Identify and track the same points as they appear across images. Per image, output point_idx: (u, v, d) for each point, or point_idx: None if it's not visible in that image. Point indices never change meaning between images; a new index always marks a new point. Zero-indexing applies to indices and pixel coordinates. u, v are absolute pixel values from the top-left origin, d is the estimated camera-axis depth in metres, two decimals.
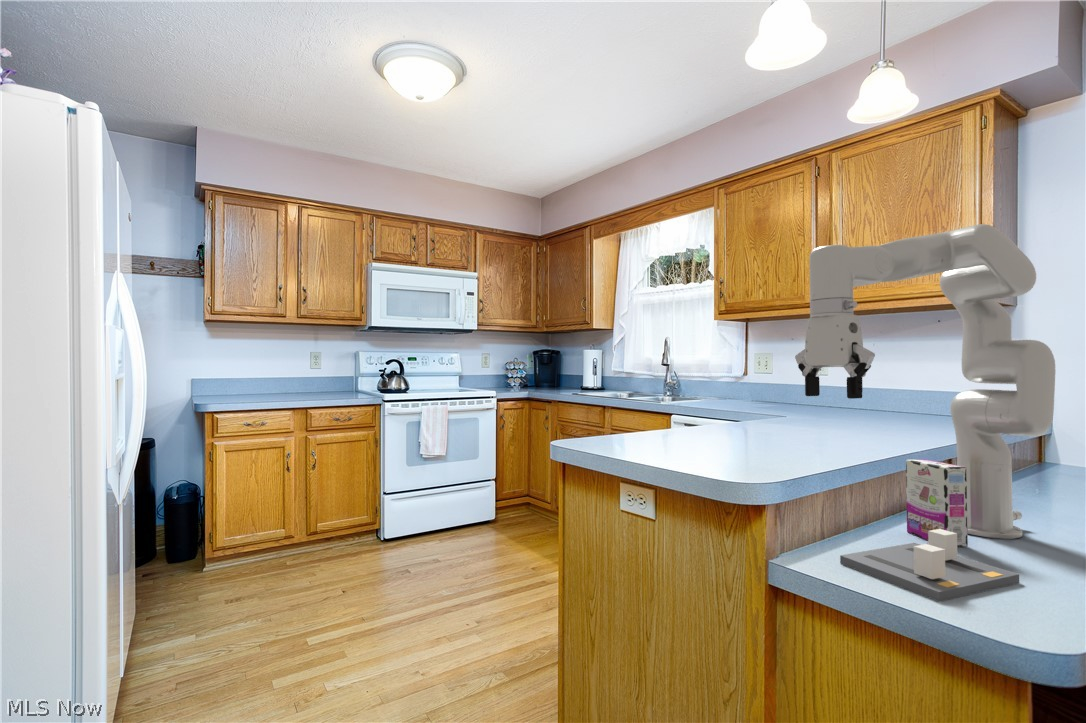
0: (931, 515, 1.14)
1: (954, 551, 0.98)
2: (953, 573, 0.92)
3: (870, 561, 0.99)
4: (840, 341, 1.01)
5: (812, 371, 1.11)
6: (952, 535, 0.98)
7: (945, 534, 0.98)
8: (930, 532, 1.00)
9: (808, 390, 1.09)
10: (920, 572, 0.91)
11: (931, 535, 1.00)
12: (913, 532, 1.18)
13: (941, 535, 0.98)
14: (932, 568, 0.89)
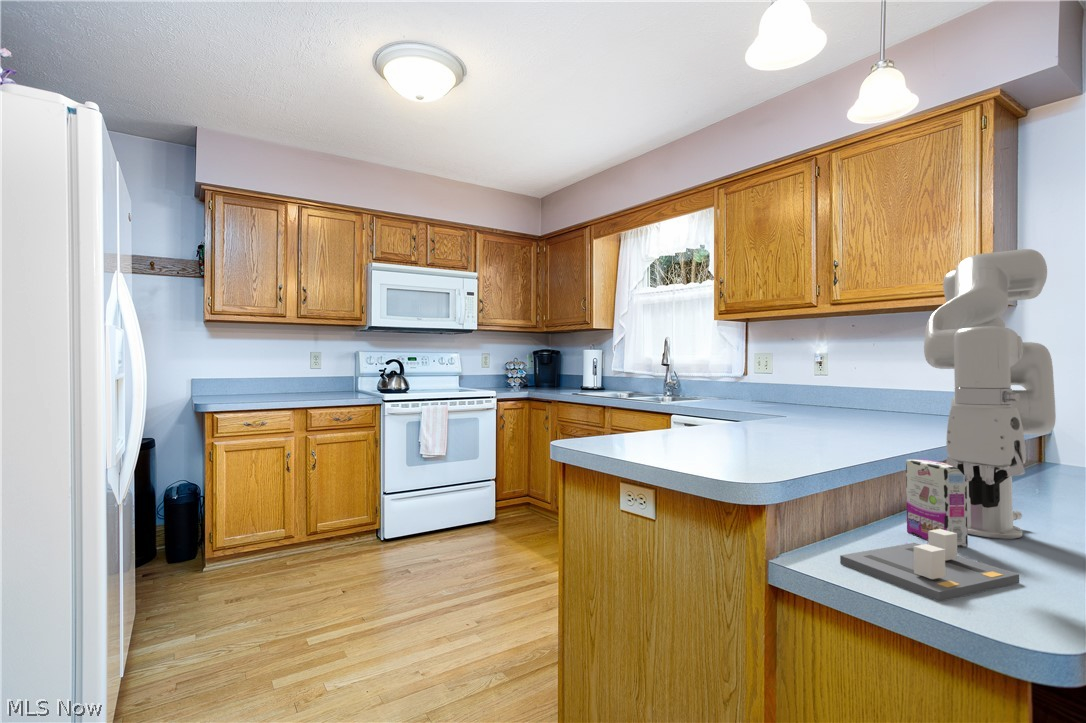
0: (931, 515, 1.14)
1: (954, 551, 0.98)
2: (953, 573, 0.92)
3: (870, 561, 0.99)
4: (1000, 439, 0.89)
5: None
6: (952, 535, 0.98)
7: (945, 534, 0.98)
8: (930, 532, 1.00)
9: (974, 498, 0.93)
10: (920, 572, 0.91)
11: (931, 535, 1.00)
12: (913, 532, 1.18)
13: (941, 535, 0.98)
14: (932, 568, 0.89)
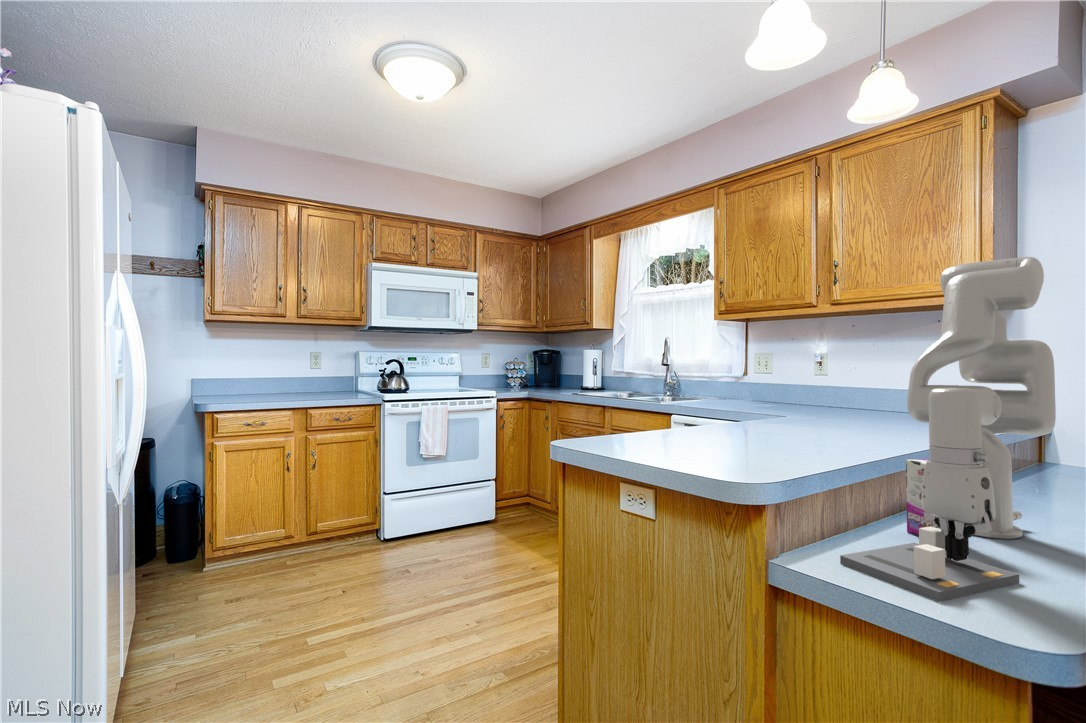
0: None
1: (944, 548, 1.00)
2: (953, 573, 0.92)
3: (870, 561, 0.99)
4: (971, 498, 0.93)
5: None
6: None
7: (935, 531, 0.99)
8: (921, 529, 1.01)
9: (950, 552, 0.97)
10: (920, 572, 0.91)
11: (922, 532, 1.01)
12: (913, 532, 1.18)
13: (931, 532, 0.99)
14: (932, 568, 0.89)
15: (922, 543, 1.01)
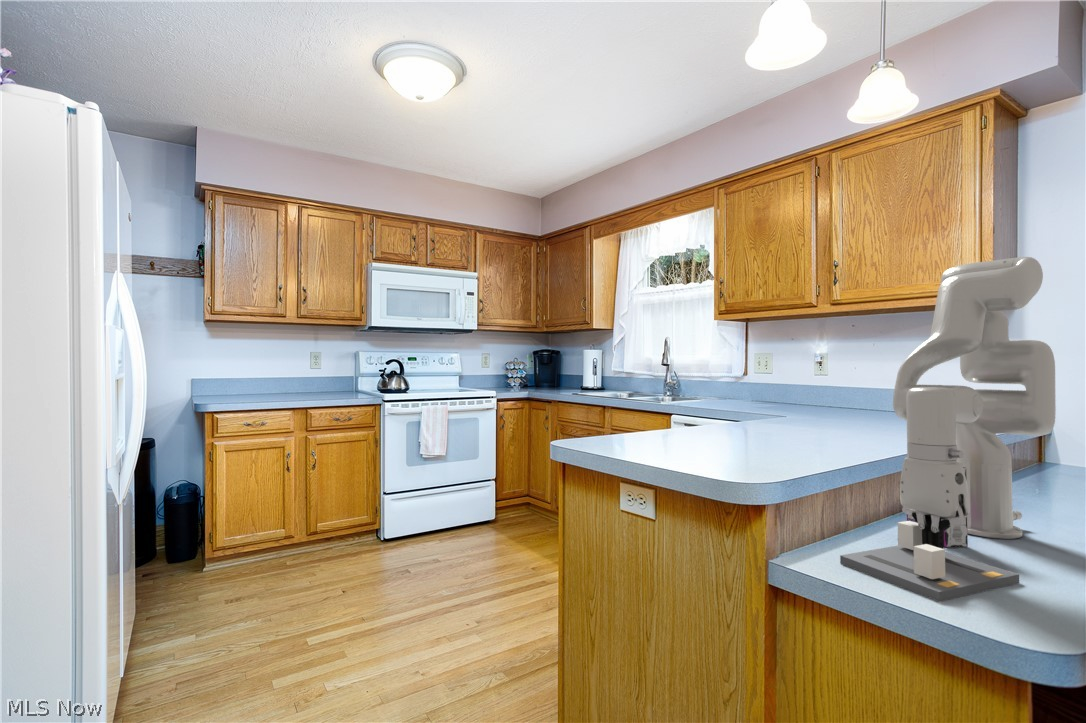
0: None
1: (921, 541, 1.04)
2: (953, 573, 0.92)
3: (870, 561, 0.99)
4: (946, 492, 0.97)
5: None
6: None
7: (913, 525, 1.03)
8: (899, 524, 1.05)
9: None
10: (920, 572, 0.91)
11: (900, 526, 1.05)
12: None
13: (909, 526, 1.03)
14: (932, 568, 0.89)
15: (901, 537, 1.05)
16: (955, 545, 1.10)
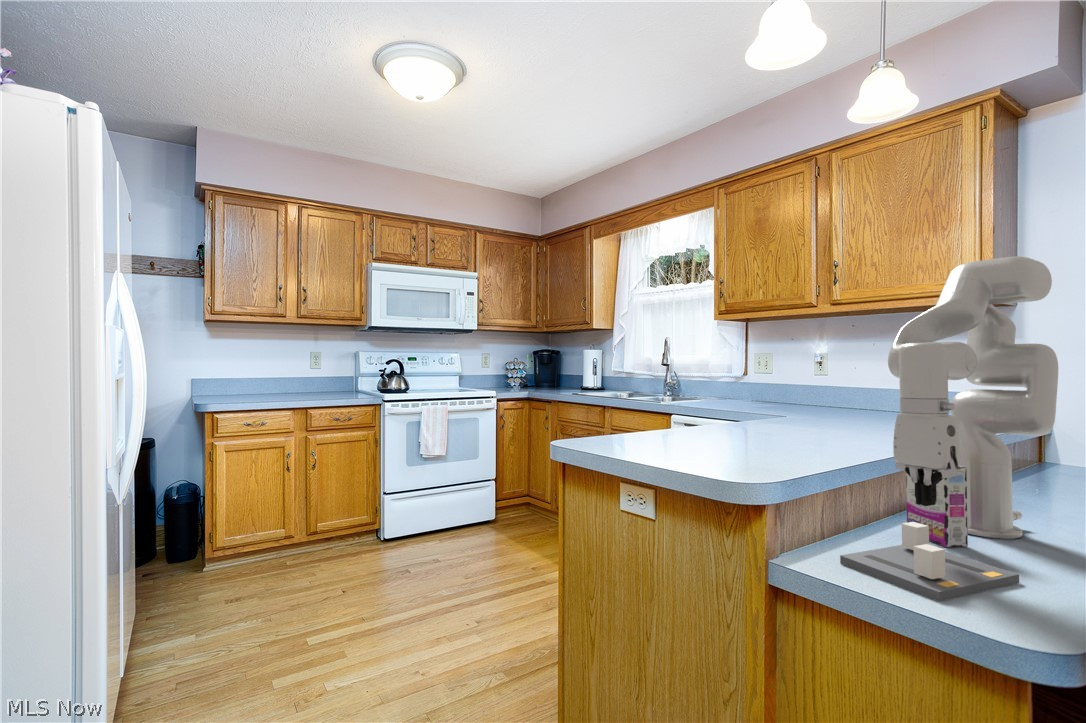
0: (931, 515, 1.14)
1: (926, 543, 1.03)
2: (953, 573, 0.92)
3: (870, 561, 0.99)
4: (937, 444, 0.98)
5: None
6: (924, 527, 1.03)
7: (917, 526, 1.03)
8: (903, 525, 1.04)
9: (919, 498, 1.02)
10: (920, 572, 0.91)
11: (904, 527, 1.04)
12: None
13: (913, 527, 1.03)
14: (932, 568, 0.89)
15: (905, 538, 1.04)
16: (955, 545, 1.10)
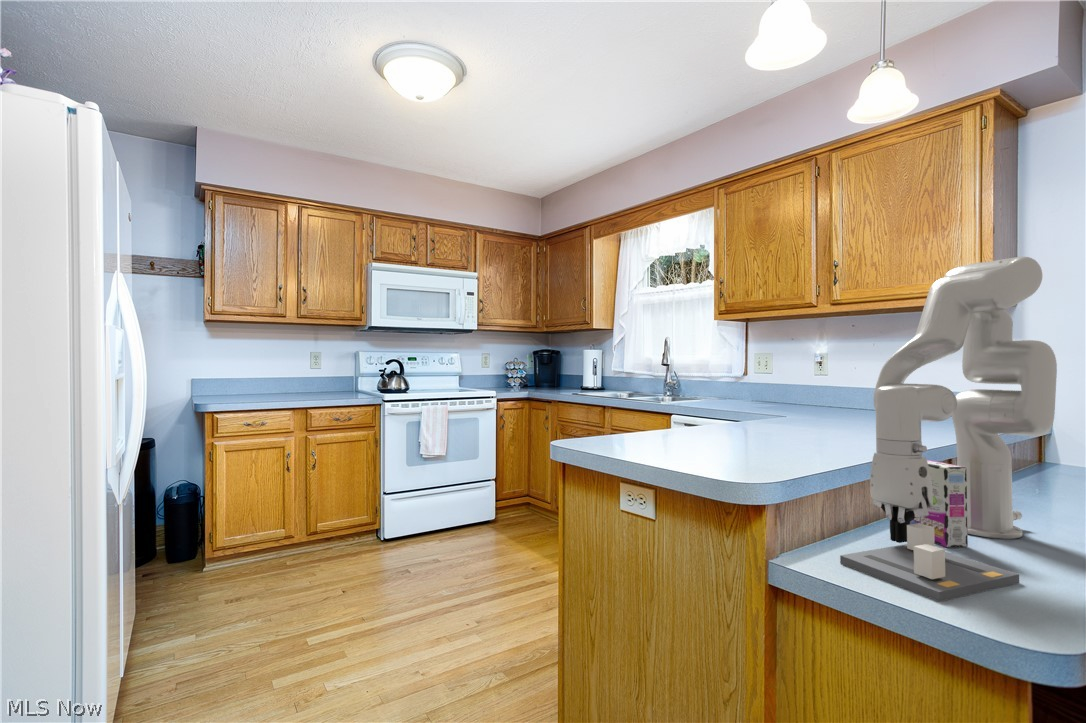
0: (931, 515, 1.14)
1: (931, 544, 1.02)
2: (953, 573, 0.92)
3: (870, 561, 0.99)
4: (910, 485, 1.03)
5: (895, 512, 1.08)
6: (929, 529, 1.02)
7: (922, 528, 1.02)
8: (908, 526, 1.04)
9: (893, 535, 1.06)
10: (920, 572, 0.91)
11: (909, 529, 1.03)
12: None
13: (919, 529, 1.02)
14: (932, 568, 0.89)
15: (910, 539, 1.03)
16: (955, 545, 1.10)
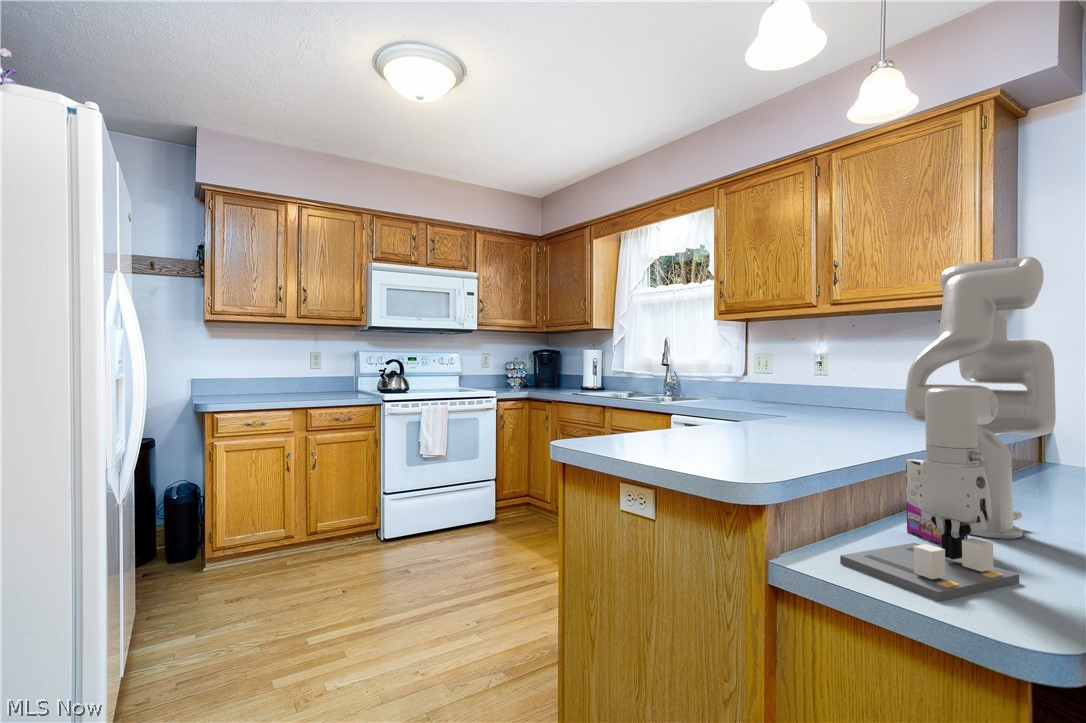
0: None
1: (990, 562, 0.93)
2: (953, 573, 0.92)
3: (870, 561, 0.99)
4: (966, 497, 0.93)
5: None
6: (988, 545, 0.93)
7: (980, 544, 0.92)
8: (964, 541, 0.94)
9: (946, 551, 0.97)
10: (920, 572, 0.91)
11: (965, 545, 0.94)
12: (913, 532, 1.18)
13: (976, 545, 0.92)
14: (932, 568, 0.89)
15: (966, 556, 0.94)
16: None
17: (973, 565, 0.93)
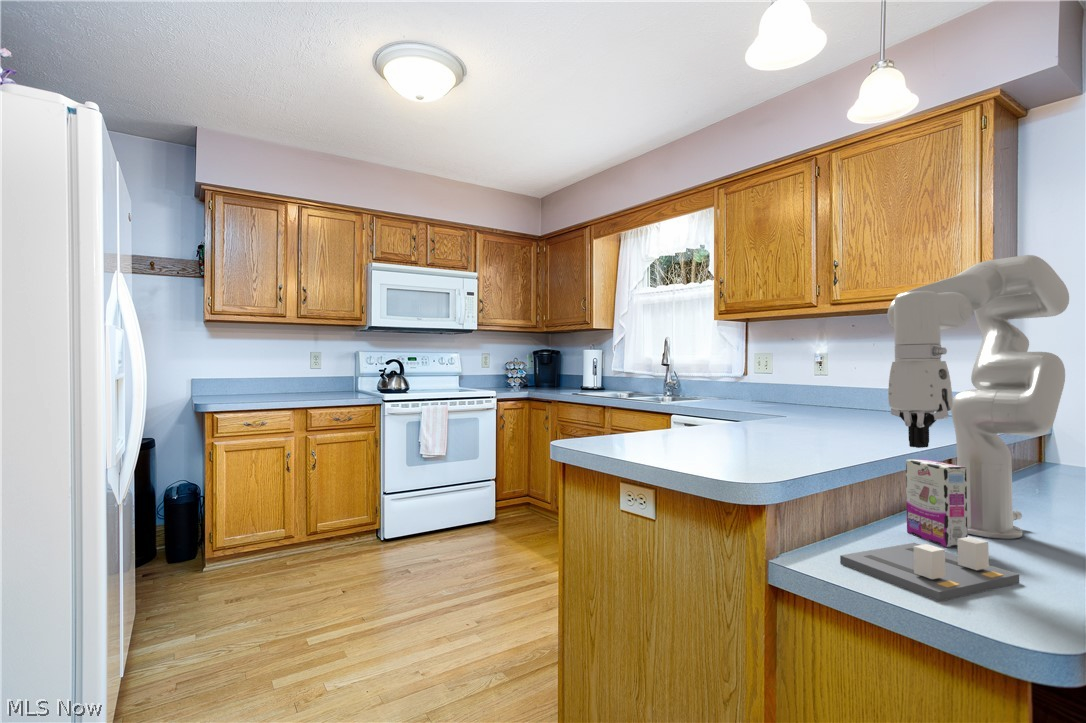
0: (931, 515, 1.14)
1: (985, 560, 0.93)
2: (953, 573, 0.92)
3: (870, 561, 0.99)
4: (930, 387, 1.03)
5: None
6: (983, 543, 0.93)
7: (976, 542, 0.93)
8: (959, 540, 0.95)
9: (912, 441, 1.06)
10: (920, 572, 0.91)
11: (961, 543, 0.95)
12: (913, 532, 1.18)
13: (972, 543, 0.93)
14: (932, 568, 0.89)
15: (961, 555, 0.95)
16: (955, 545, 1.10)
17: (968, 564, 0.94)
